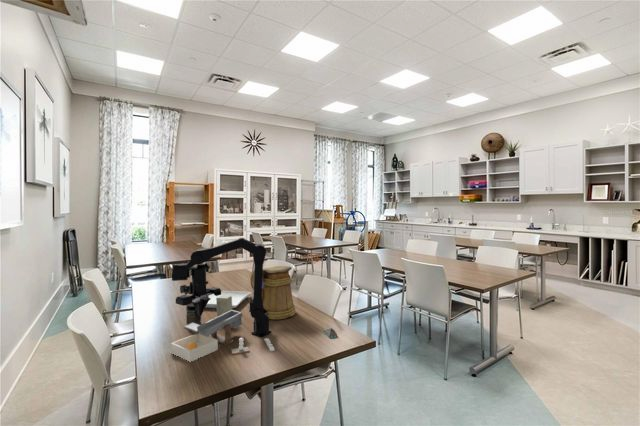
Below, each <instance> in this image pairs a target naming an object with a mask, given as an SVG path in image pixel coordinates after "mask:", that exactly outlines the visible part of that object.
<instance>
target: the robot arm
mask: <svg viewBox="0 0 640 426" xmlns="http://www.w3.org/2000/svg"><path fill="white" fill-rule="evenodd" d="M238 249H243V250H245V251H246V252H248V253H250V254H252V257H253V264H254V266H253V267H254V269H253V271H254V290H253V295H252V298H248V302H249V303H248V304H249V306H248V313H250V316H251V318H253V331H252V332H250V334H251V335H253V336H257V337H260V338H263V337H265V336H267V335H269V334H271V333H272V330H270V319H269V317H268V312H267V311H266V310H265V309H264V308H263V302H262V275H263V269H264V263H265V259H266V254H267V249H266V247H265V245H264V244H262V243H255V242H253V241H250V240H247V239H245V237H239V238H238V239H234V240H232V241H228V242H225V243H221V244H219V245H216V246H214V247H213V246H212V247H203V248H198V249H195V250H194V251H193V252H192V253H191V255H190V260H189V261H188V262H187V263H184V264H183V263H181V264H178V263H175V264H173V266H172V273H171V280H172V282H174V281H175V282H178V281H188V280H189V278H191V281H190V282H189V285H186V284H182V285H180V286H179V292H180V294H182V295H178V296H176V297H175V304H177V305H180V306H185V307H186V305H188V304H191V303H192V304H193V305H194V307H195V309H196V311H197V314H198V316H201V315H203V313H204V311H205V309H206V308H205V307H206V305H207V303H208V301H209V300H211V298H209V296H208V295H211V294H214V295H215V296H218V295H221V291H222V289H221V288H220V287H215V286H212V287H207V285H208V284H209V281H208V280H207V270H210V269H211V264H209V263H208V262H207V261H209V260H211V259H212V258H215V257H216V256H219V255H223V254H225V253H228V252H232V251H234V250H238Z"/></svg>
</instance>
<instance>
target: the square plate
mask: <svg viewBox="0 0 640 426" xmlns="http://www.w3.org/2000/svg"><path fill="white" fill-rule="evenodd" d="M251 294H252V291H243V290H242V291H241V290H240V291H239V290H221V295H218V296H215V295H214V294H211V295H208V296H209V298H211V300H209V301H208V303H207V305H206V307H205V309H217V302H216V298H217V297H219V296H232V309H236V308H237V307H238V306H239V305H240V304H241V303H242V302H243V301H244V300H246V299H247V298H249V296H251Z"/></svg>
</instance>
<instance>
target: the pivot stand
mask: <svg viewBox="0 0 640 426" xmlns="http://www.w3.org/2000/svg"><path fill="white" fill-rule="evenodd" d="M231 331H232V327H231V324H227V325H225V327H224V336H223V335H221V334H218V331H216V332H215V333H213V334H211V335H209V337H212V338H214V339H217V340H218V344H221V345H223V346H227V345H229V344H232V343H233V342H234V339H232V338H231V336H232V332H231Z"/></svg>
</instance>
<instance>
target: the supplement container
mask: <svg viewBox="0 0 640 426" xmlns="http://www.w3.org/2000/svg"><path fill="white" fill-rule="evenodd" d="M185 310H186V311H185V312H186V315H185V317H186V319H185V320H186V323H185V324H186V325H185V326H187V325H189V324H191V323H195V324H198V325H202V324H203V323H202V318H203V317H202V315H203V314H202V315H201V316H198V314H197V311H196V309H195V307H194V305H193V304H192V303H191V304H188V305H185Z"/></svg>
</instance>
